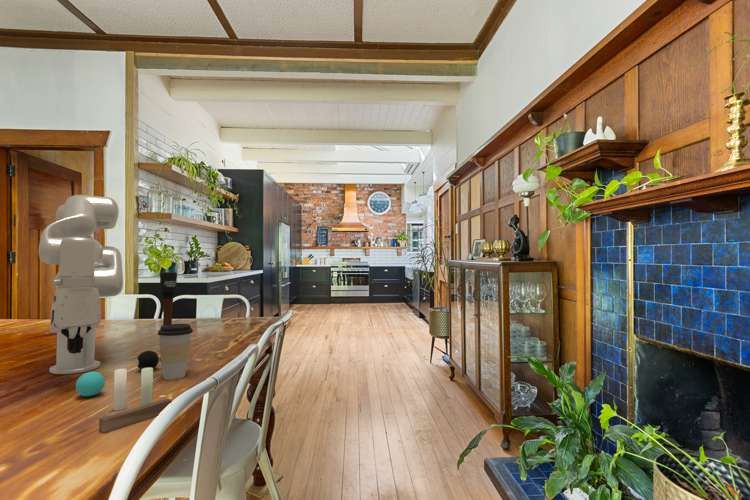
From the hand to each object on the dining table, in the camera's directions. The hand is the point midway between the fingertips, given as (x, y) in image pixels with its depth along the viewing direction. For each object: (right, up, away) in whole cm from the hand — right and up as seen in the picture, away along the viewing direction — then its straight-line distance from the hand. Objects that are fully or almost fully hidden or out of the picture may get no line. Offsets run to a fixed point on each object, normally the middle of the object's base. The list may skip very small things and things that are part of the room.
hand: (74, 352), depth 104 cm
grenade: (+8, -11, +30) cm, 33 cm away
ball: (+7, -7, -5) cm, 11 cm away
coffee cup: (+20, -11, +12) cm, 26 cm away
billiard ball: (+9, -11, +18) cm, 23 cm away
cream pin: (+20, -10, -13) cm, 26 cm away
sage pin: (+26, -10, -11) cm, 30 cm away
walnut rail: (+28, -10, -19) cm, 35 cm away
